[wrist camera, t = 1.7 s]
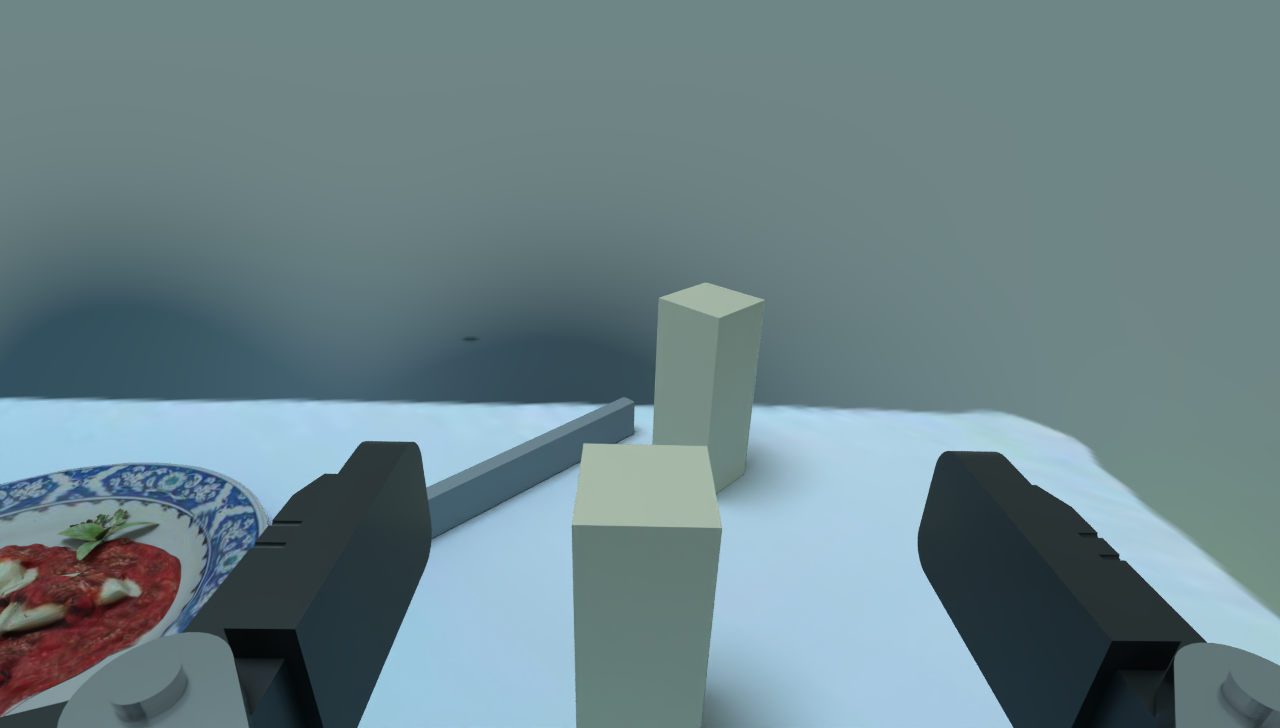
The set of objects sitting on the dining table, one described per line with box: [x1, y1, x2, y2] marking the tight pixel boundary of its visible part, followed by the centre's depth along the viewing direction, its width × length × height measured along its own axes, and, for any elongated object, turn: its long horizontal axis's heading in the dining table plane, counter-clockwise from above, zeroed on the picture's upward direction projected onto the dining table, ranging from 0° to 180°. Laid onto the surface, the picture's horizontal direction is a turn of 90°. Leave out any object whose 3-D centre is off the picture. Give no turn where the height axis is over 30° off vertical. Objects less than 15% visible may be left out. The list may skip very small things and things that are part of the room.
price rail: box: [426, 397, 634, 539], centre depth 45 cm, size 24×1×3 cm, turn 136°
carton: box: [572, 443, 722, 728], centre depth 26 cm, size 5×5×14 cm
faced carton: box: [653, 283, 765, 494], centre depth 45 cm, size 5×5×14 cm
